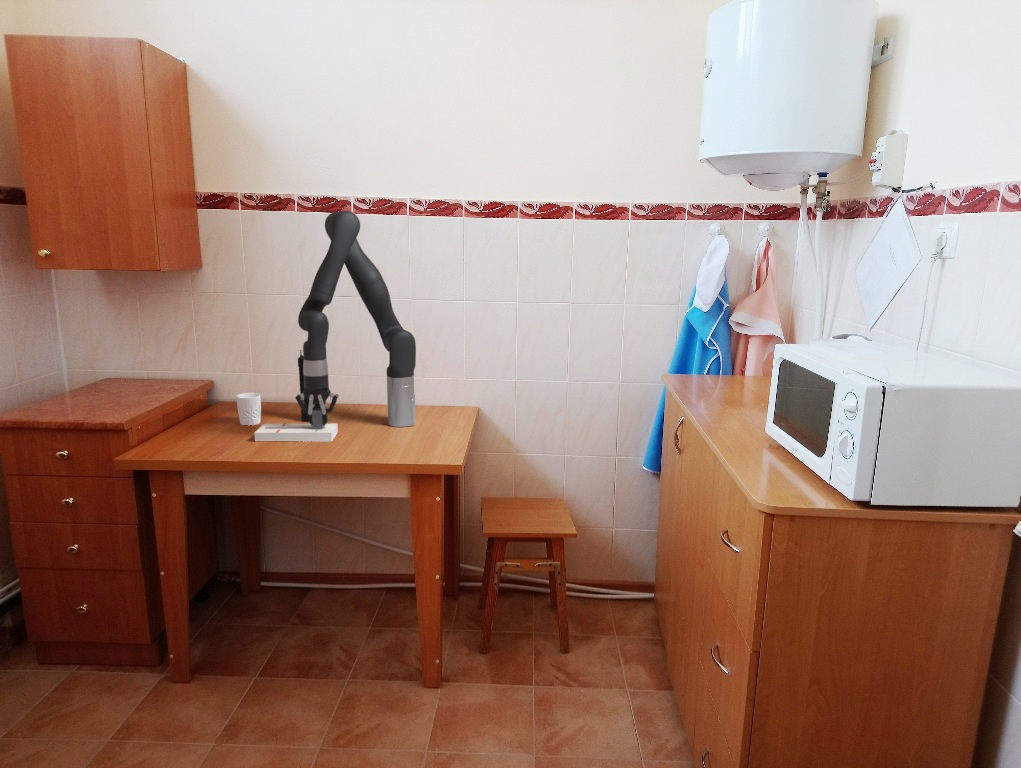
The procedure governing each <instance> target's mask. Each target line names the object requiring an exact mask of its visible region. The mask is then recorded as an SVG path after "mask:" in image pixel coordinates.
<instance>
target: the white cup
mask: <svg viewBox="0 0 1021 768" xmlns="http://www.w3.org/2000/svg"><path fill="white" fill-rule="evenodd" d="M261 395H262V394H261V393H259V392H242V393H238V394H236V395H235V398H236V405H237V407H236V408H237V412H238V419H239V424H240V425H241V426H244V425H248V426H247V427H249V426H250V425H252V426H256V425H259V424H261V421H262V420H261V417H262V416H261V415H262V396H261Z"/></svg>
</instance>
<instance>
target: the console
mask: <svg viewBox="0 0 1021 768" xmlns="http://www.w3.org/2000/svg"><path fill="white" fill-rule="evenodd" d="M338 429H339V427H338V423H327V424H326V425H325V426H324V428H323V429H313V426H311V424H310V423H286V422H285V423H263V424H262V425H261V426H259V428H258V429H257V430H256V431H254V441H299V442H300V441H303V442H304V443H305V442H306V443H307V442H311V441H312V442H314V443H315V442H318V443H321V442H322V443H323V442H327V443H328V442H330V443H331V442H333V440H334V439H335V437H336V436H337V434H338V433H339V431H338ZM299 442H298V443H299ZM303 442H302V443H303Z"/></svg>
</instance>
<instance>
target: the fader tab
mask: <svg viewBox="0 0 1021 768" xmlns="http://www.w3.org/2000/svg"><path fill="white" fill-rule="evenodd" d="M322 414H323V413H322V409H321V408H314V409H313V410H312V421H313V429H323V428H324V426H325V425H323V422H322Z"/></svg>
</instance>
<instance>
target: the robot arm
mask: <svg viewBox="0 0 1021 768" xmlns="http://www.w3.org/2000/svg"><path fill="white" fill-rule="evenodd" d="M324 229H325V233H326V235H327V237H328V238H329V239H330V244H329V247H328V249H327V253H326V255H325V257H324V258H323V260H322V262H321V264H320V265H319V267H318V270H317V271H316V274H315V275H314V279H313V282H312V284H311V287H310V291H309V295H308V296H307V298H306V300H305V302H304V303H303V305H302V307H301V309H300V311H299V314H298V318H297V323H298V326H299V328H300V329H301V330H303V331H304V332H307V340H306V341H304V342H303V345H302V352H303V353H302V356H303V357H304V363H303V373H304V392H303V393H302V394H300V393H299V394H297V395H296V396H295V400H296V402H297V403H298V405H299V408H300V411H301V410H302V412H303V413H308V414H309V422H308V424H311V426H313V421H312V410H313V409H314V405H315V404H320V407H321V409H322V413H323V414H322V422H323V425H326V424H328V422H329V420H328V419H329V417H328V414H329V413H332V412H333V410H334V408H335V406H336V404H337V401H338V399H339V394H338V393H337V394H336V393H335V394H334V393H332V392H331V389H330V387H329V386H330V385H329V366H328V361H327V360H328V359H327V342H328V336H329V329H330V323H329V320H328V319H329V318H328V316H327V315H326V314H325V312H323V311H324V309H325V307H326V306H329V305H330V304H331V303H332V301H333V298H334V296H335V292H336V288H337V285H338V282H339V279H340V275H341V272H342V270H343V268H344V265H345V268H346V269H347V272H348V274H349V276H350V278H351V280H352V282H353V284H354V287H355V289H356V291H357V293H358V295H359V296H360V299H361V300H362V302H363V304H364V306H365V308H366V309H367V311H368V313H369V315H370V316H371V318H372V319H373V321H374V324H375V325H376V328H377V330H378V334H379V336H380V339H381V341H382V344H383V346H384V348H385V350H386V351H387V352H389V353H388V354H389V357H388V360H389V363H388V366H387V367H386V393H387V395H386V399H387V400H386V401H387V404H386V405H387V424H388V426H391V427H395V428H406V427H410V426H411V427H412V426H415V424H416V394H415V372H414V371H415V369H416V363H417V361H416V358H417V355H416V353H417V348H416V347H417V346H416V338H415V336H414V335H413V333H412V332H410V331H409V330H406V329H404V328H403V326H402V325H401V323H400V322H399V319H398V318H397V316H396V314H395V312H394V309H393V306H392V301H391V300H392V299H391V295H390V292H389V289H388V286H387V284H386V282H385V280H384V278H383V276H382V274H381V272H380V271H379V269H378V268H377V266H376V265H375V264H374V262H373V261H372V260H371V259H370V258H369V257H368V255H367V254H366V253H365V251H364V250H363V249H362V247H361V245H360V243H359V241H358V239H357V237H358V235H359V233H360V230H361V222H360V218H359V217H358V216H357V215H356V213H354V212H353V211H349V210H339V211H334V212H332V213H329V214H328V215H327V217H326V218H325V220H324ZM304 396H305V397H306V399H307V400H308V401H309V408H307V406H306V404H305V402H304ZM329 397H330V401H331V402H330V404H329V407H328V406H327V405H328V404H327V399H329Z"/></svg>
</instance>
